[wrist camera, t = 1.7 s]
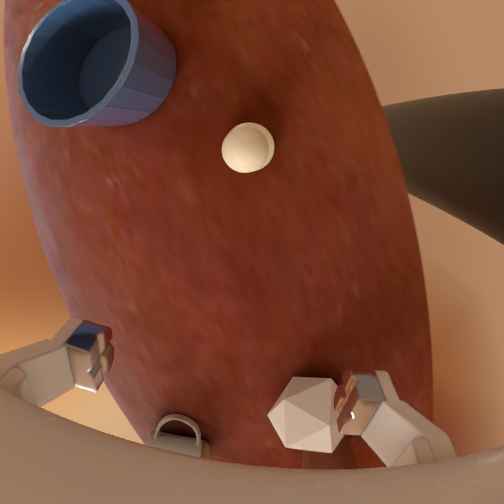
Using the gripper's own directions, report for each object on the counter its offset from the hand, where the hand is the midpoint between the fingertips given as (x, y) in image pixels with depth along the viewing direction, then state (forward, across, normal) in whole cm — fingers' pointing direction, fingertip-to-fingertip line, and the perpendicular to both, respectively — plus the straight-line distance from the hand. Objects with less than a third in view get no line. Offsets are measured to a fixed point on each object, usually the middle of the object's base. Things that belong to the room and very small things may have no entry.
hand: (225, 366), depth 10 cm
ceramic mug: (+19, +5, +32) cm, 37 cm away
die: (+19, -10, +19) cm, 28 cm away
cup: (+19, +13, -12) cm, 26 cm away
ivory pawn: (+19, +1, -6) cm, 20 cm away
